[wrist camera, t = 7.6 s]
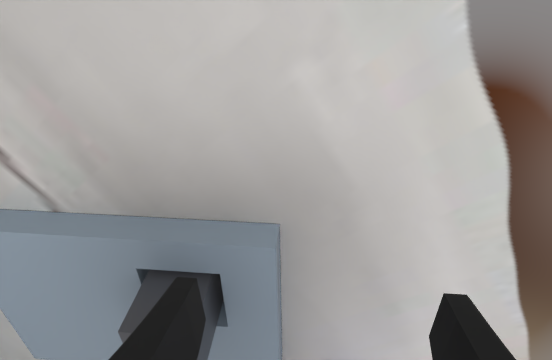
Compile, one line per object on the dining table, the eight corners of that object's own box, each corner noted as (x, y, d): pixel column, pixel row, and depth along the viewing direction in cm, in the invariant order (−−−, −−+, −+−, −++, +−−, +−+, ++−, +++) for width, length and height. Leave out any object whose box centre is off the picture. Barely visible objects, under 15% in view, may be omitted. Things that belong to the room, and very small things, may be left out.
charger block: (224, 293, 26) (202, 378, 21) (170, 290, 26) (135, 372, 22) (218, 253, 24) (192, 338, 19) (159, 249, 24) (117, 331, 19)
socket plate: (282, 356, 30) (279, 381, 28) (49, 336, 32) (34, 358, 30) (279, 224, 22) (276, 248, 20) (-30, 207, 24) (-56, 228, 22)
